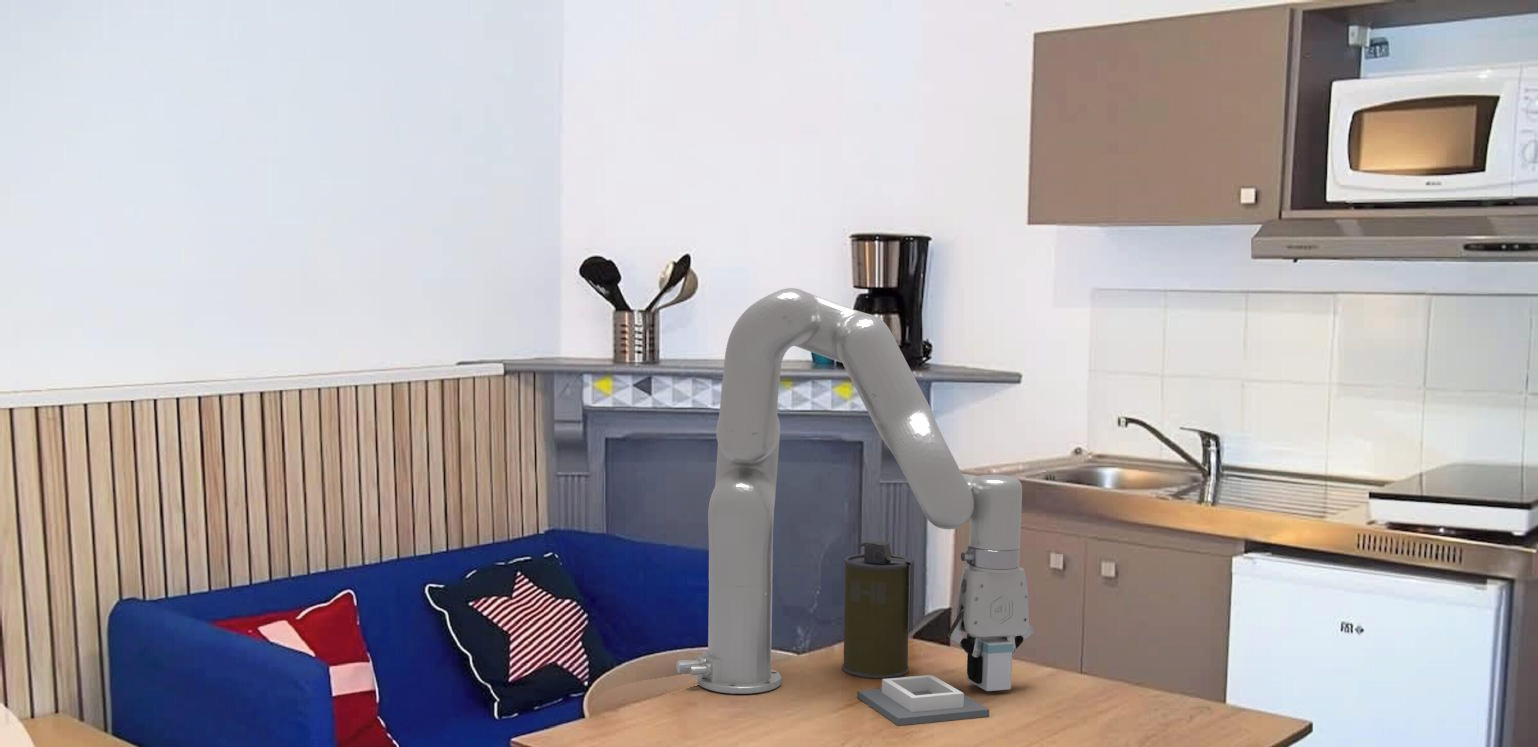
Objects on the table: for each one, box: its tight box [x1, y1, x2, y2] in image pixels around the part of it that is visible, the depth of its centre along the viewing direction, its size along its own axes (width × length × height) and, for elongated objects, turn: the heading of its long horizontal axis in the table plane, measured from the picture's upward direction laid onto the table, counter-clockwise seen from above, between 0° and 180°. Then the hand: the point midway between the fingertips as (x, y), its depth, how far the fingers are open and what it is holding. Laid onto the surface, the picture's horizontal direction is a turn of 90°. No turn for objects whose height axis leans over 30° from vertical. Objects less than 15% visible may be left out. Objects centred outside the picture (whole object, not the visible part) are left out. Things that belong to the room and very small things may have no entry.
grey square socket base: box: [856, 674, 990, 726], centre depth 202 cm, size 14×14×3 cm
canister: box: [841, 540, 915, 680], centre depth 221 cm, size 11×10×20 cm
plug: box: [966, 637, 1013, 692], centre depth 212 cm, size 4×6×7 cm
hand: (988, 678), depth 212 cm, fingers closed on plug, 4 cm apart
